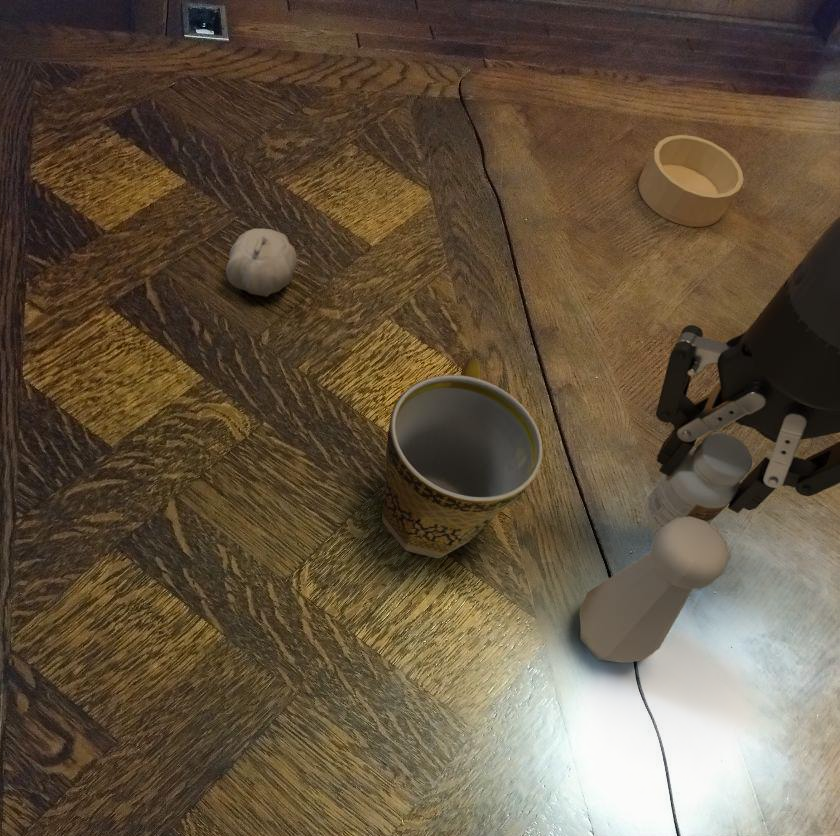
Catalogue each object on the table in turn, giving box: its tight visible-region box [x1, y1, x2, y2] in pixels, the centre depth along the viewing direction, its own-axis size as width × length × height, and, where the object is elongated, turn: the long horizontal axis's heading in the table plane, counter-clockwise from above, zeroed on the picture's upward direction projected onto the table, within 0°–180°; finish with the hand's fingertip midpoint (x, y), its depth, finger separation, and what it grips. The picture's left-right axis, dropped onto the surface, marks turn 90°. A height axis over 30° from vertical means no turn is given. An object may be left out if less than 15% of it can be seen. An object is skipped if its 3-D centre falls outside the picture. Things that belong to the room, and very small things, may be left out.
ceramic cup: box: [381, 357, 544, 559], centre depth 68 cm, size 13×10×10 cm
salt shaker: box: [578, 516, 731, 664], centre depth 63 cm, size 6×6×13 cm
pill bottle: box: [643, 432, 753, 533], centre depth 67 cm, size 4×4×8 cm
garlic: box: [225, 227, 298, 297], centre depth 78 cm, size 6×5×5 cm
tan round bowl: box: [637, 134, 744, 228], centre depth 93 cm, size 9×9×4 cm
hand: (701, 482), depth 66 cm, fingers closed on pill bottle, 4 cm apart
